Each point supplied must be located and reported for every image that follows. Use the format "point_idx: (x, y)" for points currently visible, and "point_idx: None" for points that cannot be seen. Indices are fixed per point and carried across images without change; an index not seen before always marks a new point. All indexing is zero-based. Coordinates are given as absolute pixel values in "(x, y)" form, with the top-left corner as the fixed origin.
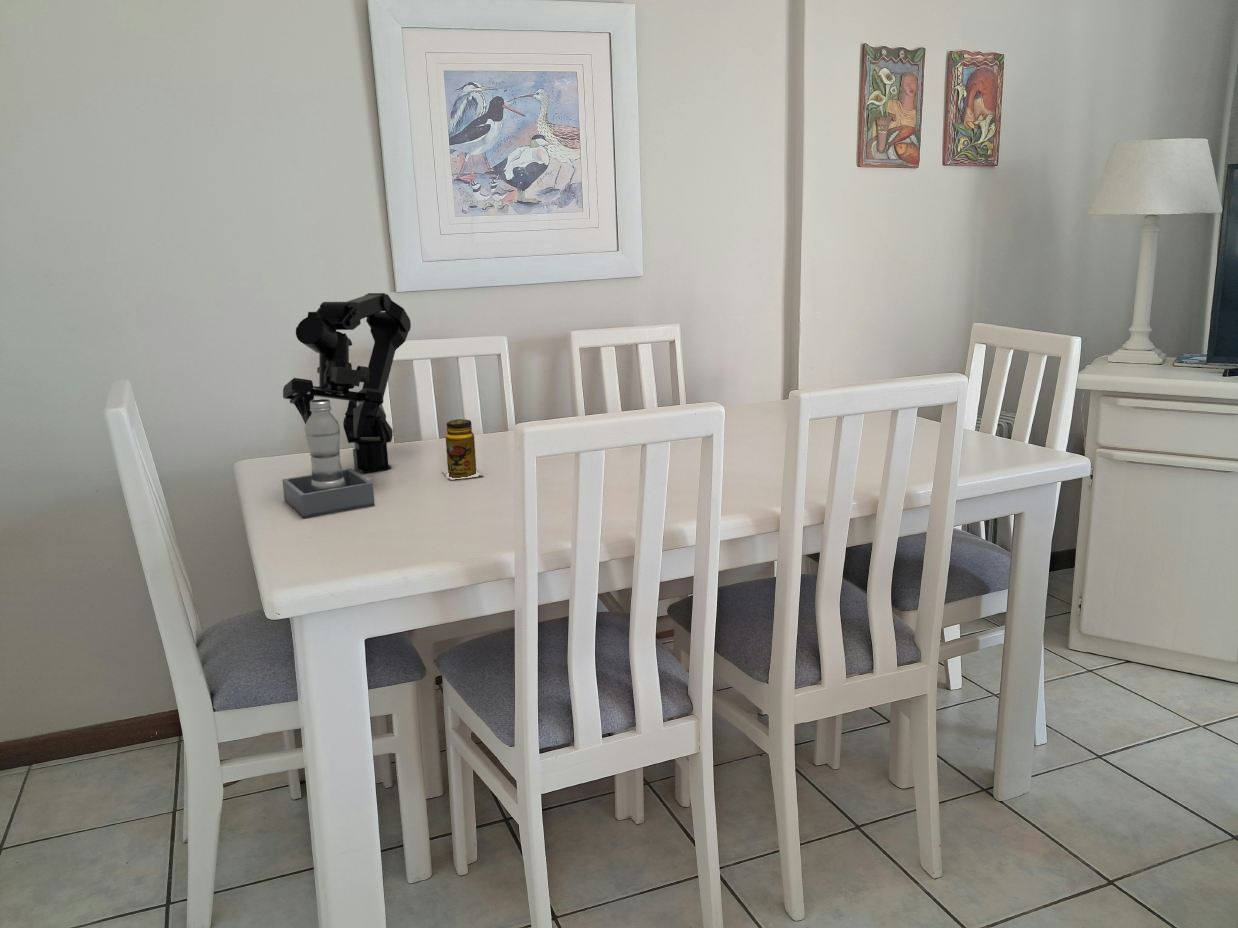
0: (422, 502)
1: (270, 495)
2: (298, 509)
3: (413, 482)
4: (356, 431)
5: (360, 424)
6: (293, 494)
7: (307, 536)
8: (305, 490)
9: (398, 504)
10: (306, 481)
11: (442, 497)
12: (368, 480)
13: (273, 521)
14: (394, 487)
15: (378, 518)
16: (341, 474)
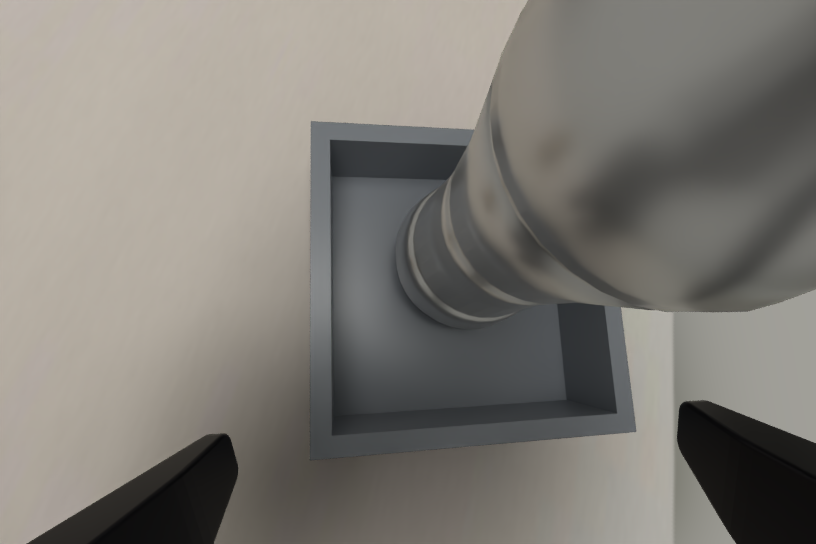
0: (153, 96)
1: (609, 534)
2: None
3: (32, 397)
4: (196, 478)
5: (89, 519)
6: None
7: None
8: (518, 407)
9: (239, 128)
10: (528, 414)
11: (52, 105)
12: (311, 173)
13: None
14: (148, 364)
15: (355, 34)
16: (431, 196)
